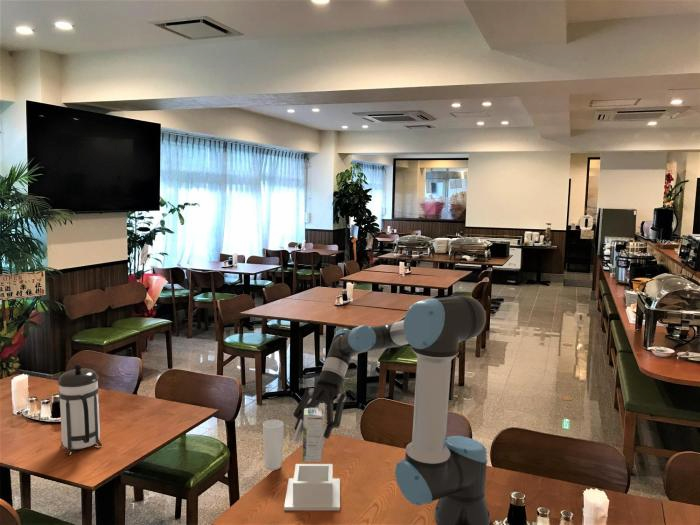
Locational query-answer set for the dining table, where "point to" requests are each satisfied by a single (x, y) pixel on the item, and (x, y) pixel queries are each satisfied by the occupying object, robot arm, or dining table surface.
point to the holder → (313, 488)
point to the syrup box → (312, 434)
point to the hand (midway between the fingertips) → (307, 444)
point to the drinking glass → (273, 443)
